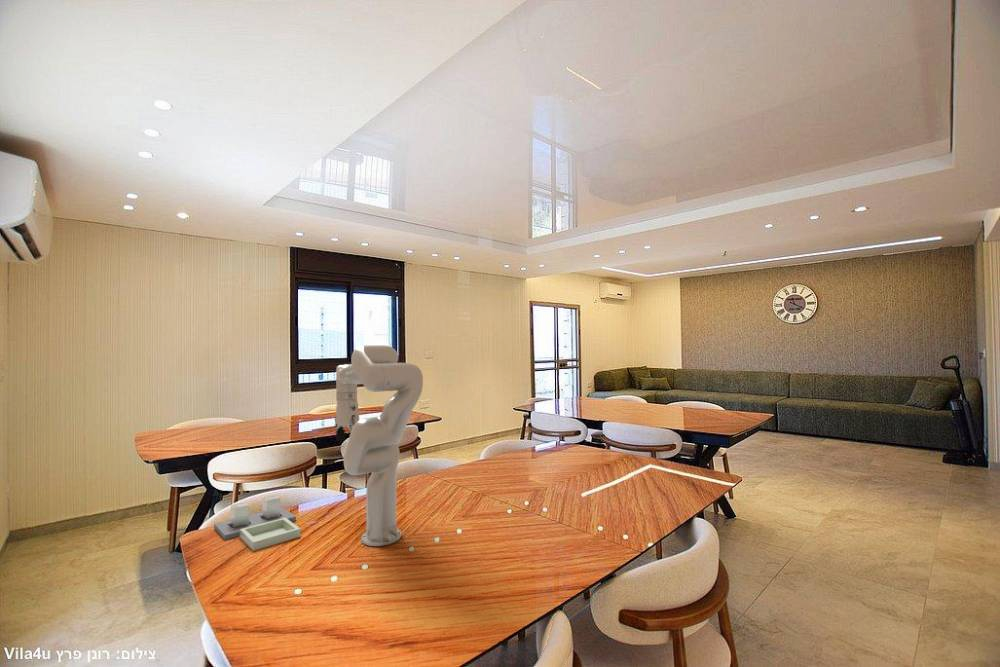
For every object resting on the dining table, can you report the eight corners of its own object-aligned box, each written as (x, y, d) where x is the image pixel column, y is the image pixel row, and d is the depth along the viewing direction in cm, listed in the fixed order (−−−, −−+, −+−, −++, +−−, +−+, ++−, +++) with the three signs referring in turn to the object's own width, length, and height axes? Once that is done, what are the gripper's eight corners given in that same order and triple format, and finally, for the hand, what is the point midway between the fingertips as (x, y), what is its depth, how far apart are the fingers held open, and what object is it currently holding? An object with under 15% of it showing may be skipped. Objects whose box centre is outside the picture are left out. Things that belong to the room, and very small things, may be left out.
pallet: (295, 523, 156) (295, 516, 156) (224, 543, 140) (224, 535, 140) (281, 513, 166) (281, 506, 166) (213, 530, 150) (214, 523, 150)
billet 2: (279, 523, 156) (280, 497, 157) (266, 526, 153) (266, 500, 154) (275, 519, 159) (275, 494, 160) (262, 523, 156) (262, 497, 157)
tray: (300, 539, 142) (300, 528, 142) (252, 554, 132) (253, 542, 132) (285, 527, 152) (285, 517, 152) (239, 540, 142) (239, 529, 142)
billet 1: (248, 531, 149) (248, 504, 150) (234, 535, 146) (234, 508, 147) (244, 527, 152) (245, 501, 153) (230, 531, 149) (230, 505, 150)
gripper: (367, 397, 165) (367, 443, 164) (344, 395, 177) (344, 438, 176) (349, 398, 159) (349, 446, 158) (326, 396, 171) (326, 441, 170)
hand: (346, 441), depth 167 cm, fingers open, 9 cm apart
